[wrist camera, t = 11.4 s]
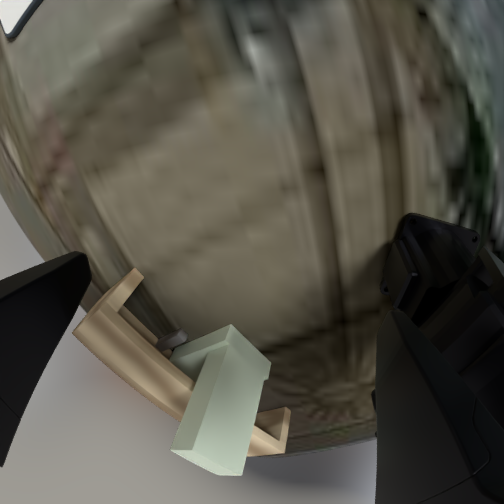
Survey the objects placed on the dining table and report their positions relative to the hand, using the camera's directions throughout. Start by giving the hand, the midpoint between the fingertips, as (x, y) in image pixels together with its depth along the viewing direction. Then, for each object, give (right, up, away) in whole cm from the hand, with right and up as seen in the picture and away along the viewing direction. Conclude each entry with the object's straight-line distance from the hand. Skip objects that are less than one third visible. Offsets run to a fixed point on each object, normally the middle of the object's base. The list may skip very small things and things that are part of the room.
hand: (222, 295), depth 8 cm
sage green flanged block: (-2, -9, +20) cm, 22 cm away
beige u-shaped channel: (-5, -11, +22) cm, 24 cm away
